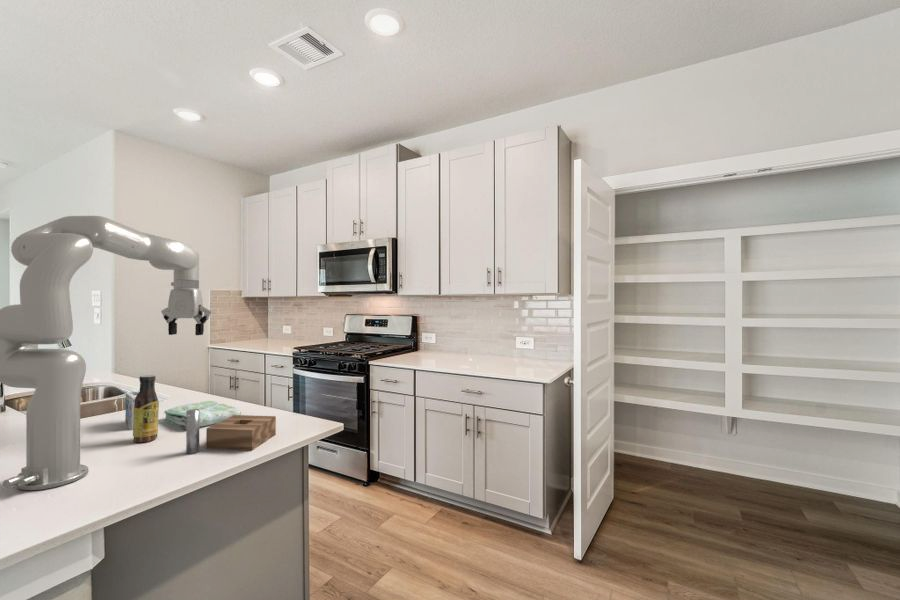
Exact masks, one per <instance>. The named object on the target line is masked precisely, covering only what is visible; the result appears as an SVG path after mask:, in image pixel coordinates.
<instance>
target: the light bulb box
mask: <svg viewBox="0 0 900 600" xmlns="http://www.w3.org/2000/svg"><path fill="white" fill-rule="evenodd" d="M139 392H140V390H139V391H134V392H133V391H132V392H126V393H125V413H124V414H125V417H124V418H125V422H124V423H125V425H126V426H127V427H128V428H129V430H131V431H133V422H134V407H135V398H136V396H137V395H138V393H139Z"/></svg>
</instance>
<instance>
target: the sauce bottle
mask: <svg viewBox="0 0 900 600" xmlns="http://www.w3.org/2000/svg"><path fill="white" fill-rule="evenodd" d="M155 381H156V375H155V374H145V375H140V376H139V391H140V392H139V393H138V395H137V396H136V398H135V407H134V422H133V430H132V437H133V439H132V440H133V443H136V444H137V443H138V444H139V443H147V442H152V441H154V440H155V439H157V438H158V433H159V412H160V411H159V409H160V401H159V399H158V396H157V392H156V390H155Z"/></svg>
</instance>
